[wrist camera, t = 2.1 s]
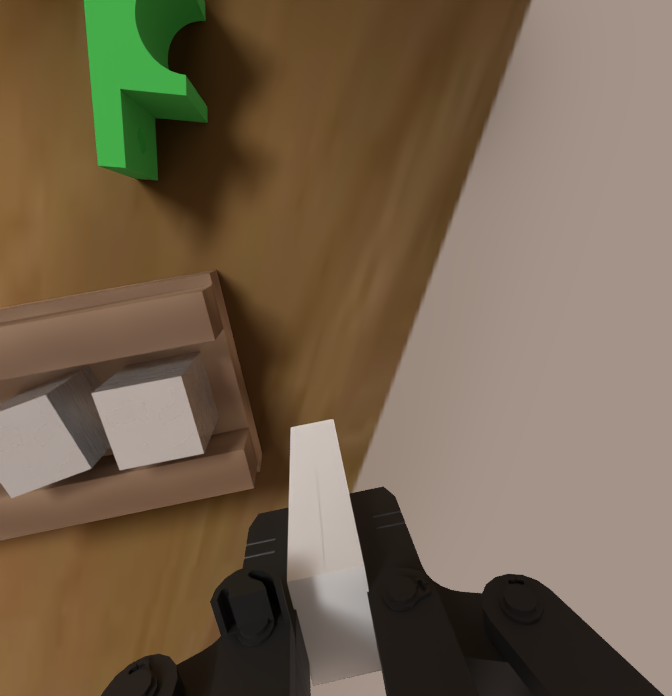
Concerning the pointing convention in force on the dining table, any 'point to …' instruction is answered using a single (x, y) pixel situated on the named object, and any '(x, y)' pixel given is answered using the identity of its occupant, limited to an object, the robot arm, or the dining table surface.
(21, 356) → the slot board
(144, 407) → the chip
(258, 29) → the dining table surface
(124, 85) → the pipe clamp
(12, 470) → the chip
